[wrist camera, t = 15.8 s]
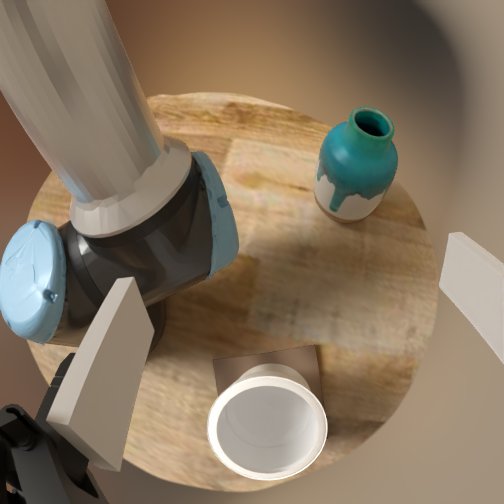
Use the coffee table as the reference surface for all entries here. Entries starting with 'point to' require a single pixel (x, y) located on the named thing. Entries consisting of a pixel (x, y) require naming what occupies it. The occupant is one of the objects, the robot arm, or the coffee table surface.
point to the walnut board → (272, 368)
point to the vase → (355, 166)
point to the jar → (267, 426)
